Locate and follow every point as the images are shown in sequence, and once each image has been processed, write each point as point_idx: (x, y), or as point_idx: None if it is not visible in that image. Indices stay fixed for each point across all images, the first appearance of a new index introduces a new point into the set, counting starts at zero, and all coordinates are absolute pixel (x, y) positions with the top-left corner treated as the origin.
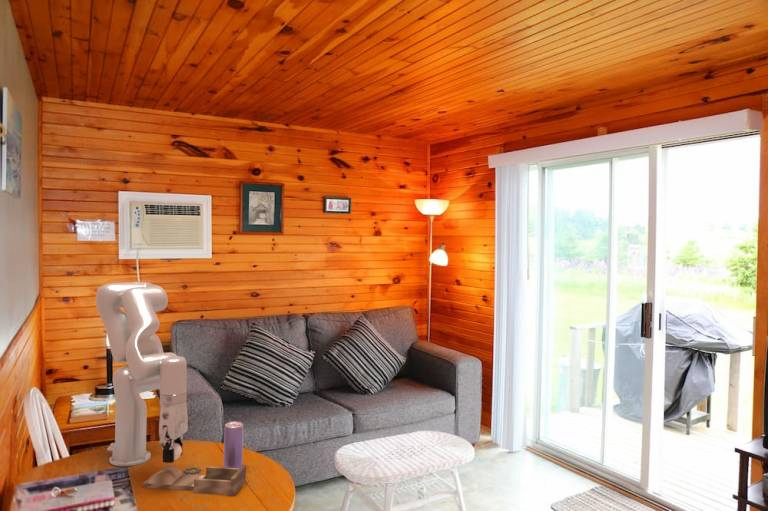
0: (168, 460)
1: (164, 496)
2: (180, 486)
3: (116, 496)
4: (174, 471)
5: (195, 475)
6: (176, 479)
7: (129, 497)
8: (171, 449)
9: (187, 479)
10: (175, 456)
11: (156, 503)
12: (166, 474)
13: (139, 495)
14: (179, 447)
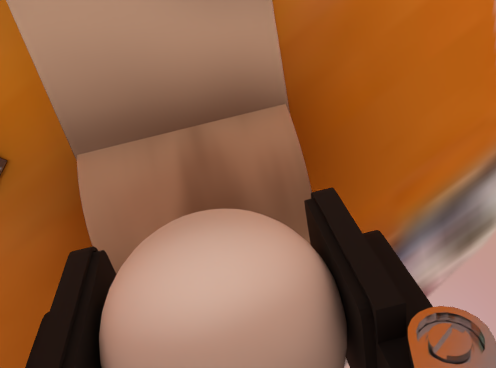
0: (375, 232)
1: (379, 66)
2: (275, 22)
3: (424, 293)
4: (159, 196)
5: (36, 36)
6: (193, 129)
7: (426, 237)
8: (449, 310)
9: (146, 49)
10: (285, 226)
11: (484, 44)
12: (264, 198)
13: (394, 211)
14: (215, 303)
